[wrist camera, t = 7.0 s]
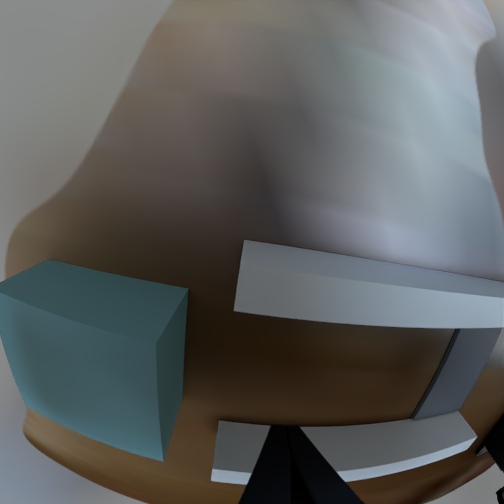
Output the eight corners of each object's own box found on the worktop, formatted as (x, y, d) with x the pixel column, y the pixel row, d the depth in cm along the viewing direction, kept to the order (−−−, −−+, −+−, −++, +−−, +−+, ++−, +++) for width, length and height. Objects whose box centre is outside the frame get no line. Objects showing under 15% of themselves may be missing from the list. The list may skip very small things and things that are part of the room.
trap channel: (514, 284, 10) (548, 302, 7) (448, 421, 12) (467, 449, 9) (244, 239, 9) (240, 264, 6) (216, 434, 12) (210, 480, 9)
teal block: (189, 286, 10) (156, 343, 6) (183, 395, 11) (163, 461, 7) (52, 258, 10) (-10, 287, 6) (65, 360, 11) (25, 405, 7)
